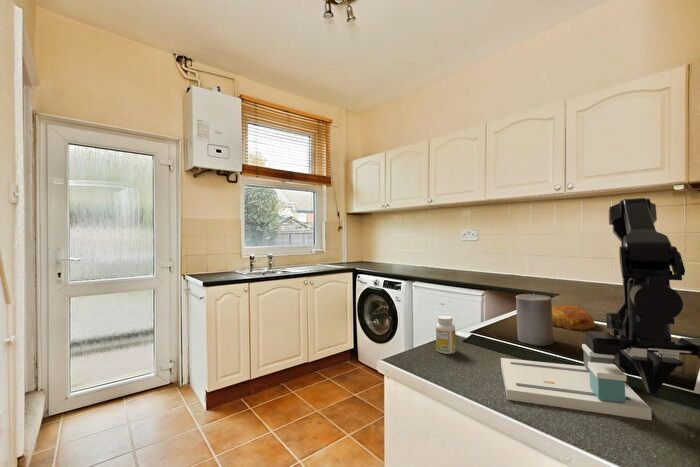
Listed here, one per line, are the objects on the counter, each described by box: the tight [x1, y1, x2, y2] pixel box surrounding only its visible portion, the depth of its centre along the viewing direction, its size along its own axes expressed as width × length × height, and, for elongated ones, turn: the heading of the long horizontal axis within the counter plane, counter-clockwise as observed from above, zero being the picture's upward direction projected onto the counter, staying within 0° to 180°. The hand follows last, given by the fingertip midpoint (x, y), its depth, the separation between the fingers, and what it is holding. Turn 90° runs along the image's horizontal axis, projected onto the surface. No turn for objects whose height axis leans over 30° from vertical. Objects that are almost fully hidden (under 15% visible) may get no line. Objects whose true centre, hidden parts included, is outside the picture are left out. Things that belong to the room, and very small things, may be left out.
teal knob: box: [588, 362, 627, 403], centre depth 62 cm, size 4×5×5 cm
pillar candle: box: [515, 292, 555, 347], centre depth 101 cm, size 10×10×15 cm
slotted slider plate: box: [500, 357, 653, 421], centre depth 70 cm, size 23×18×2 cm
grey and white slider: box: [581, 343, 615, 373], centre depth 72 cm, size 4×5×5 cm
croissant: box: [552, 304, 596, 331], centre depth 117 cm, size 14×16×8 cm
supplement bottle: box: [435, 315, 457, 355], centre depth 94 cm, size 5×5×10 cm
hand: (651, 393), depth 60 cm, fingers closed
